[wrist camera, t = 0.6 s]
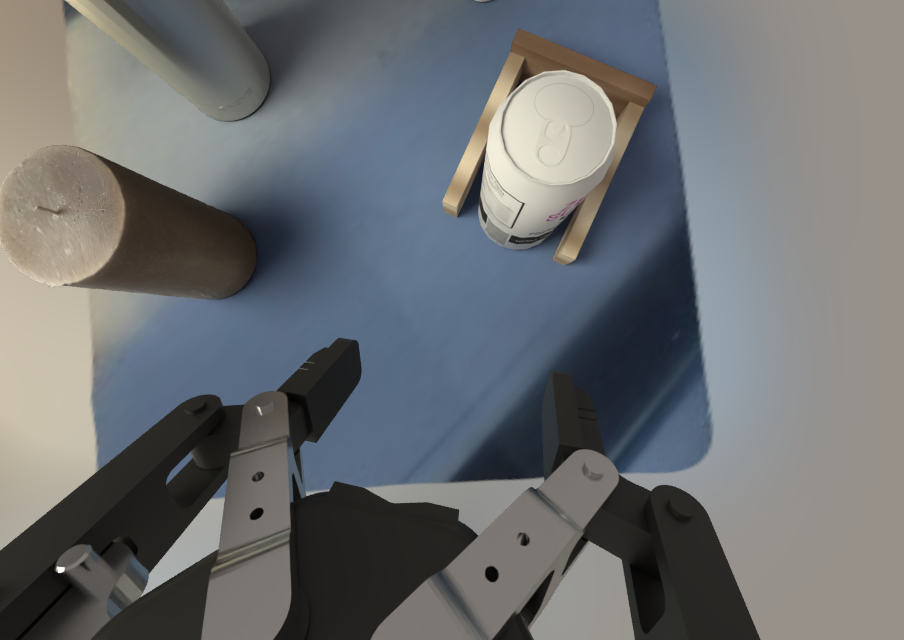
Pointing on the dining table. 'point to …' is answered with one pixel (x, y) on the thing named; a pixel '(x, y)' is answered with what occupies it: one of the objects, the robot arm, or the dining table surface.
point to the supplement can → (544, 156)
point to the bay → (529, 61)
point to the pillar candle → (117, 230)
